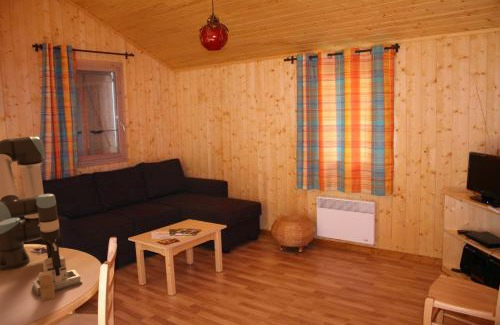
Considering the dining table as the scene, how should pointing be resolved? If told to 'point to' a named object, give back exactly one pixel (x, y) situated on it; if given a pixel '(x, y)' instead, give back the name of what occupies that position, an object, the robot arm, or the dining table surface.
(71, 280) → the rail plate
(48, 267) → the ink box
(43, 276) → the box
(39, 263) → the dining table surface
